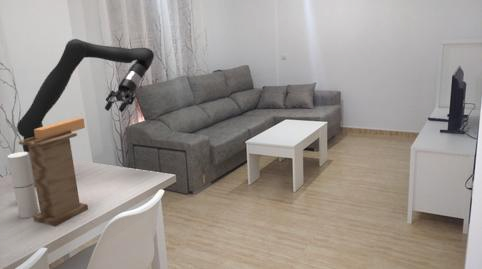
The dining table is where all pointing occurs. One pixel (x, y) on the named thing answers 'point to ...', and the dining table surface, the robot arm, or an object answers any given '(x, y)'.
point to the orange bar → (59, 128)
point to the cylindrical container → (23, 184)
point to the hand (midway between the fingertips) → (113, 110)
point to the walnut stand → (54, 178)
